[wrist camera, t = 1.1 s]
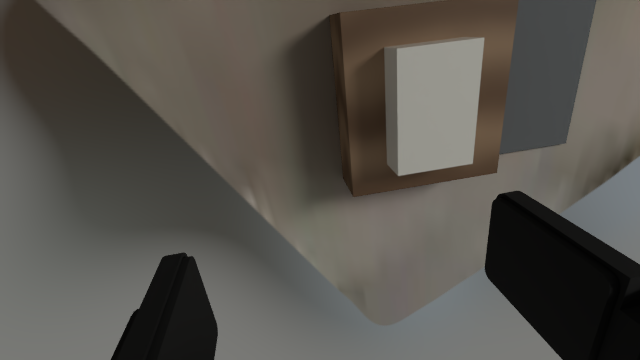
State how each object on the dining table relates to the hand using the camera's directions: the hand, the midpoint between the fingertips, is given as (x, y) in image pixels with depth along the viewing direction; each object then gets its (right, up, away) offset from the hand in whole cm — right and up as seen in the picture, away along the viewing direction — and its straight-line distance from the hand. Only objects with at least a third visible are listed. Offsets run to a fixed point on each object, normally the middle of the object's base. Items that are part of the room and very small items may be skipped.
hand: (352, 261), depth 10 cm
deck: (+7, +10, +19) cm, 23 cm away
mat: (+18, +12, +20) cm, 30 cm away
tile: (+7, +8, +16) cm, 19 cm away
